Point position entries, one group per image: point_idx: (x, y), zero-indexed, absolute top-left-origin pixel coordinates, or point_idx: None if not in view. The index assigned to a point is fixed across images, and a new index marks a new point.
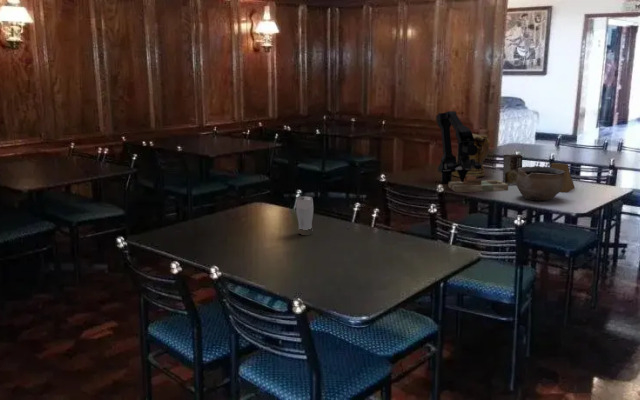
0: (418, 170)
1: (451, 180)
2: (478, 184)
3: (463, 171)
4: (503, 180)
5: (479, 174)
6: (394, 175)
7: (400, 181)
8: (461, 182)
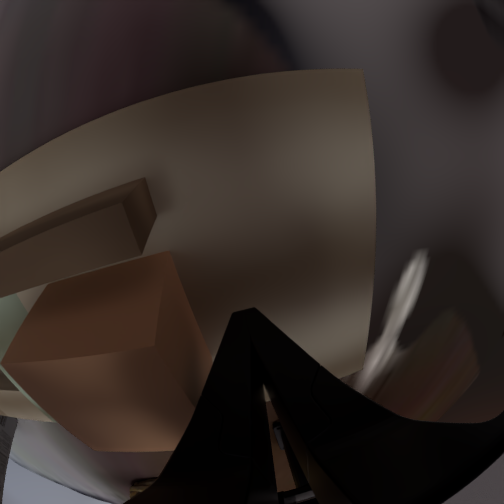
0: None
1: (287, 439)
2: (6, 236)
3: (266, 500)
4: (2, 421)
5: (141, 490)
6: None
7: (469, 368)
8: None
